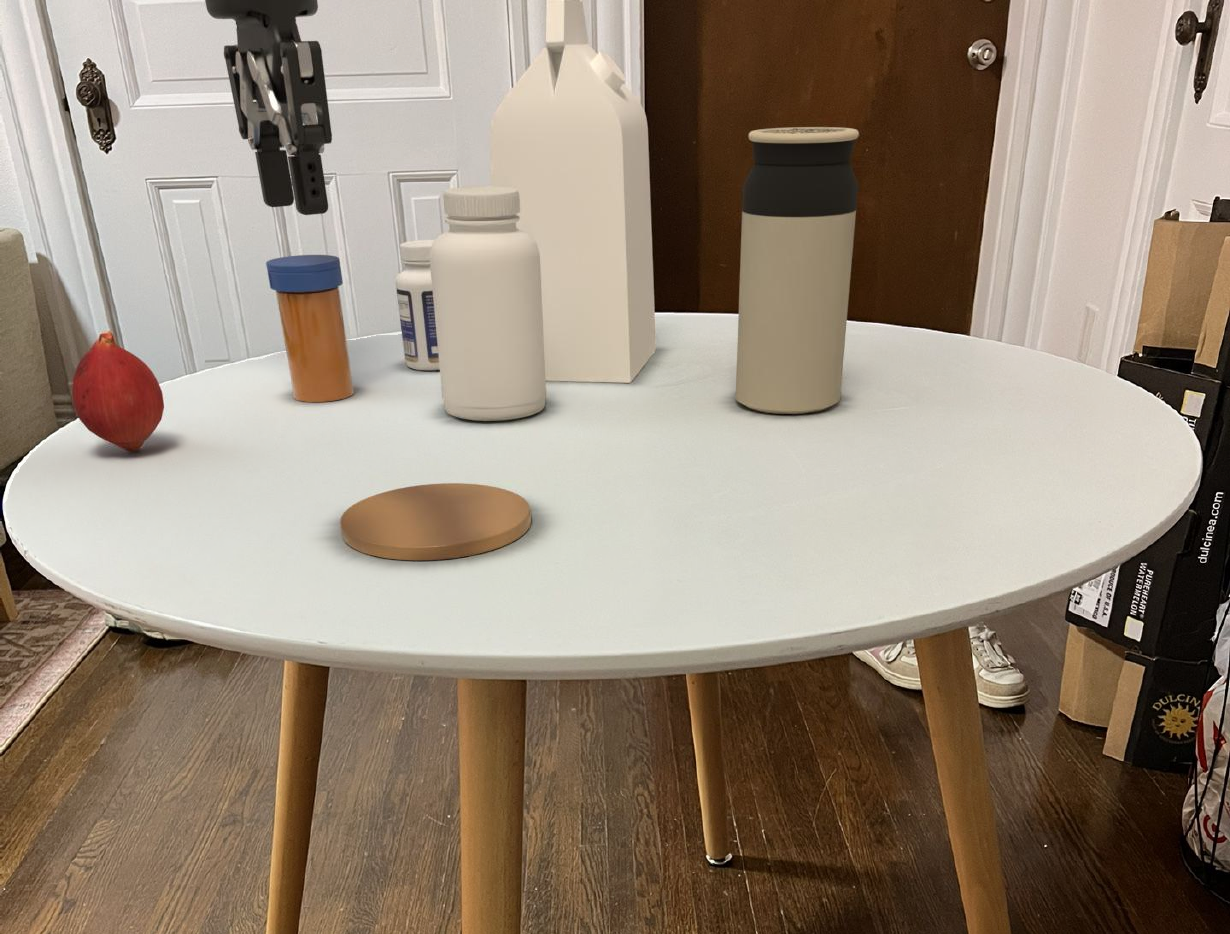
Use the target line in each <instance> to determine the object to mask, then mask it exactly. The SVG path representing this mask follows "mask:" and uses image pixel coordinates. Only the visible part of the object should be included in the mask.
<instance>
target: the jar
mask: <svg viewBox="0 0 1230 934" xmlns="http://www.w3.org/2000/svg"><path fill="white" fill-rule="evenodd" d="M275 295H276V300H277V305H278V311H279V317H280V322H281V328H282V329H281V330H282V335H283V341H284V347H285V352H286V359H287V364H288V370H289V375H290V381H291V387H292V393H293V398H294V399H295V400H297V401H298V402H299V401H300V402H305V403H326V402H334V401H335V402H336V401H340V400H343V399H347V398H350V397H351V396H352V395H354V393H355V392H354V385H353V383H354V382H353V376H352V369H351V364H350V355H349V349H348V344H347V343H348V342H347V335H346V329H345V321H344V315H343V307H342V300H341V294H340V286H338V287H335V288H331V289H325V290H318V291H306V292H283V291H276V290H275Z"/></svg>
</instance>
